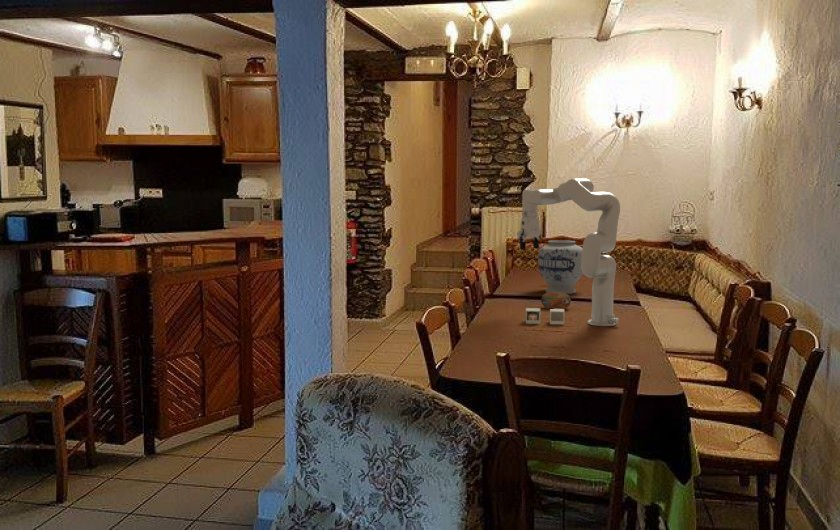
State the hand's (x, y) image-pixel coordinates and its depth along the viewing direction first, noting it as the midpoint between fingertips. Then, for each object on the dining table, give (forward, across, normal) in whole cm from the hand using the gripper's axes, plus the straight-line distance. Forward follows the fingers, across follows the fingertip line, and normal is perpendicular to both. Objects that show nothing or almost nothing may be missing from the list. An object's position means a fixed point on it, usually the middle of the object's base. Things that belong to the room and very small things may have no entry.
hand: (529, 249), depth 368 cm
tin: (+32, +15, -5) cm, 35 cm away
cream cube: (+31, -14, -30) cm, 45 cm away
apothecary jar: (+31, +59, +29) cm, 73 cm away
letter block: (+31, -21, -22) cm, 43 cm away
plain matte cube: (+31, -21, -22) cm, 43 cm away
